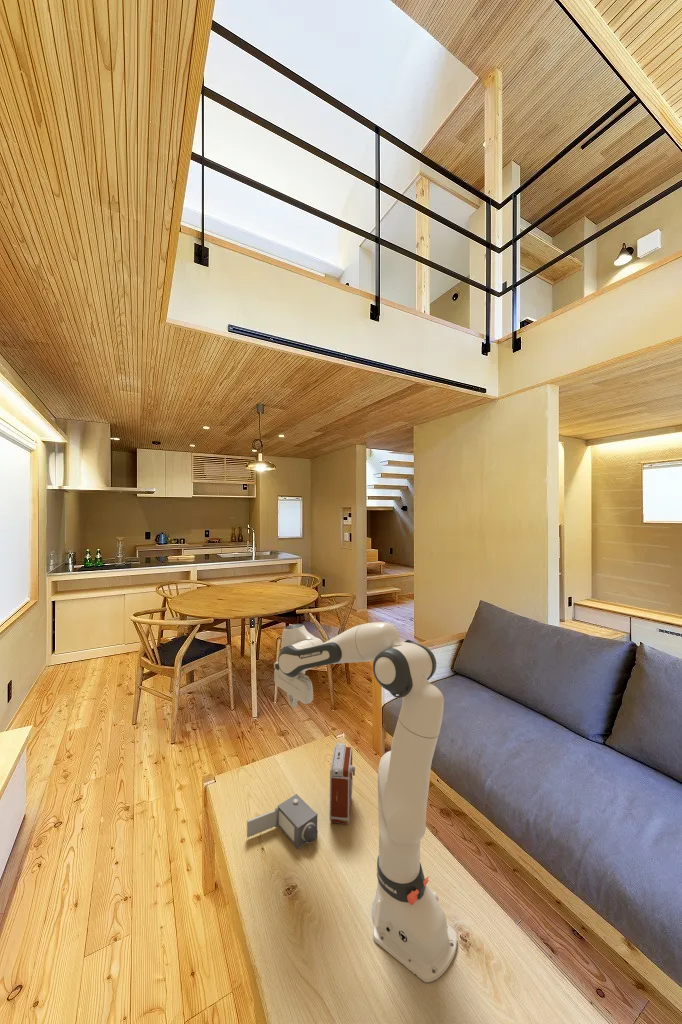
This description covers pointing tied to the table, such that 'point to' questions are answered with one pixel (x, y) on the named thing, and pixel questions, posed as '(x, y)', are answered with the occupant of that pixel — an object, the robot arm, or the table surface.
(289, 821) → the camera body
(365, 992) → the table surface
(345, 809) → the cine camera
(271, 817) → the side door
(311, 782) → the table surface
